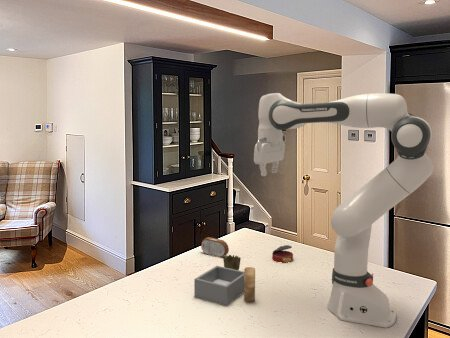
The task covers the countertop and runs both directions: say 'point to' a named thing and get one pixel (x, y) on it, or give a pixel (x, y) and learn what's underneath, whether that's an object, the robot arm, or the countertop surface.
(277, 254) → the canned food
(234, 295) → the socket box
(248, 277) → the oak peg
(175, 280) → the countertop surface
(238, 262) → the ornate bronze lampshade
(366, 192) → the robot arm
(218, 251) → the tin
